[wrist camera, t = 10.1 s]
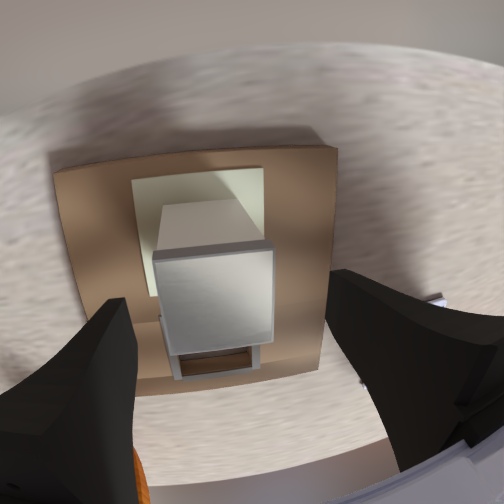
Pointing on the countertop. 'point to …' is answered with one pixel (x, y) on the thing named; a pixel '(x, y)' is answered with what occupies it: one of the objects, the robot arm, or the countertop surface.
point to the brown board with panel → (197, 190)
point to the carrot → (140, 480)
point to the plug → (213, 277)
